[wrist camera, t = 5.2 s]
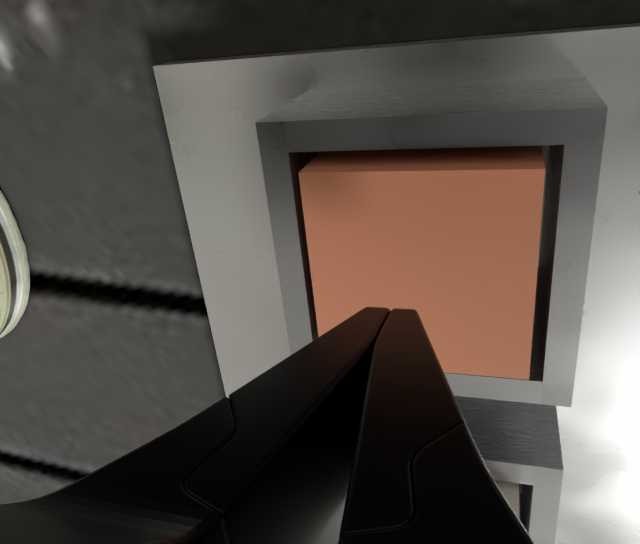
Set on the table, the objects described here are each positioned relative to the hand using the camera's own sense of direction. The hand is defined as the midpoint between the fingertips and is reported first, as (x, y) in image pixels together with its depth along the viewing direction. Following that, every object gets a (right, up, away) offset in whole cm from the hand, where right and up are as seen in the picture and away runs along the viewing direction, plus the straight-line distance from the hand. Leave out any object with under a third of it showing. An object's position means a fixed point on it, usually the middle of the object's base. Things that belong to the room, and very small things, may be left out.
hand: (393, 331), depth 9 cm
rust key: (+2, +2, +4) cm, 5 cm away
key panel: (+3, -4, +9) cm, 10 cm away
